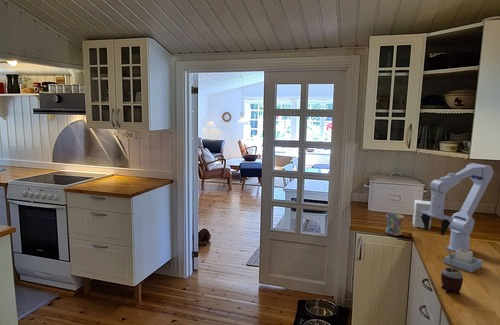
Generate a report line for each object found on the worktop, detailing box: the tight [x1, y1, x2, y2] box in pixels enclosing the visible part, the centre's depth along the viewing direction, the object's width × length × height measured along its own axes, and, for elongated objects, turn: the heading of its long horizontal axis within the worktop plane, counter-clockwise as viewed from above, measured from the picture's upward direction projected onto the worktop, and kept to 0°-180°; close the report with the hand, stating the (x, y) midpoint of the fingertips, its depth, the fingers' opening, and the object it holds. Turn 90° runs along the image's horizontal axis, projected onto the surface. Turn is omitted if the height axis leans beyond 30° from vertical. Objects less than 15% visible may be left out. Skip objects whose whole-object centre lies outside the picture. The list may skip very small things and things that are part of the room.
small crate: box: [454, 248, 474, 265], centre depth 151 cm, size 5×5×6 cm
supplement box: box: [412, 199, 432, 230], centre depth 207 cm, size 9×9×15 cm
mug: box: [385, 212, 405, 237], centre depth 190 cm, size 12×9×11 cm
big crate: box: [443, 252, 484, 274], centre depth 152 cm, size 11×11×3 cm
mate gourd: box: [440, 246, 464, 295], centre depth 128 cm, size 8×8×15 cm
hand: (434, 232), depth 165 cm, fingers open, 7 cm apart
